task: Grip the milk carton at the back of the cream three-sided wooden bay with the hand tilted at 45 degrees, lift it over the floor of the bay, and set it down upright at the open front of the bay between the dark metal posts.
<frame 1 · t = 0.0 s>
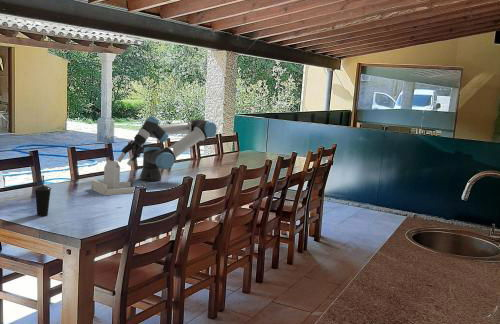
hand: (123, 163, 325), 15 cm above the table, tool tilted 35°, fingers open, 13 cm apart
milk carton: (111, 191, 311), on the table
bay: (118, 190, 314), on the table
drinking cup: (42, 215, 247), on the table
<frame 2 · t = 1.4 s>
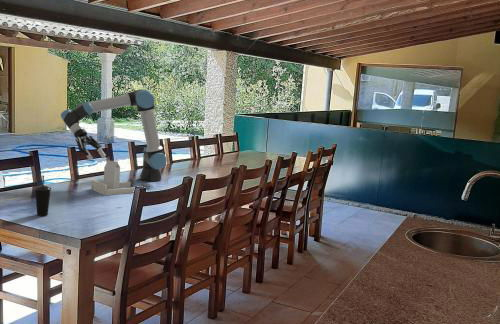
hand: (98, 158, 311), 19 cm above the table, tool tilted 45°, fingers open, 13 cm apart
nothing on the table moved.
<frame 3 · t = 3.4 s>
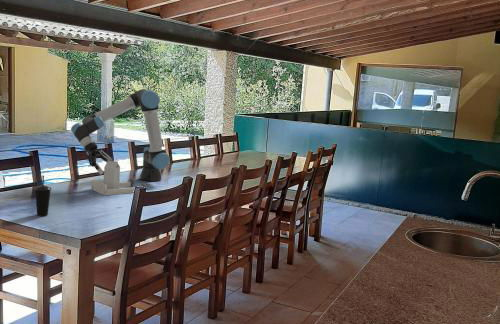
hand: (108, 171, 309), 12 cm above the table, tool tilted 45°, fingers open, 13 cm apart
nothing on the table moved.
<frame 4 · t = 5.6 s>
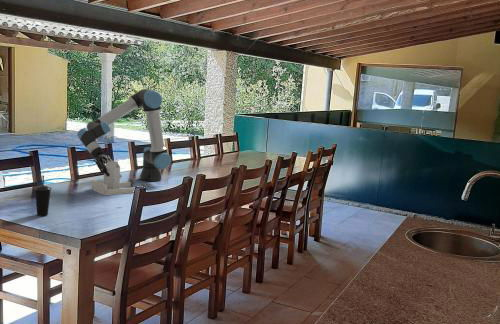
hand: (116, 178, 309), 8 cm above the table, tool tilted 45°, fingers closed on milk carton, 8 cm apart
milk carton: (111, 191, 311), on the table, touching gripper
everything else where it was.
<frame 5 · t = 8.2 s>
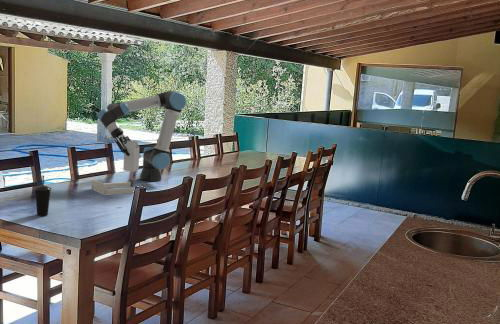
hand: (136, 158, 316), 20 cm above the table, tool tilted 45°, fingers closed on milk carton, 8 cm apart
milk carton: (130, 170, 318), point 12 cm above the table, touching gripper
everything else where it was.
when the fingers open (10 cm above the table, at t = 11.0 s): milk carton drops 1 cm, on the table.
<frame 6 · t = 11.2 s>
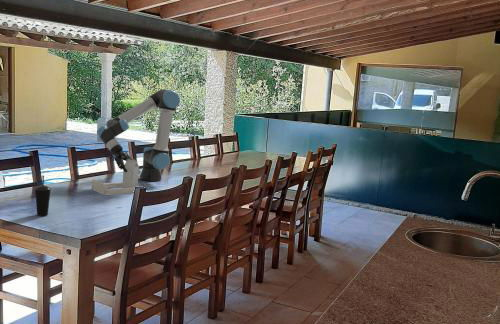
hand: (134, 174, 317), 10 cm above the table, tool tilted 45°, fingers open, 10 cm apart
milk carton: (129, 189, 319), on the table
everything else where it was.
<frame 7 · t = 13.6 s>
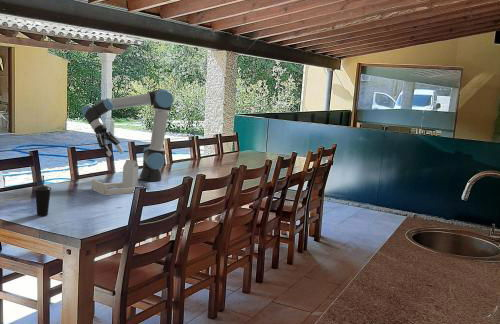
hand: (116, 154, 321), 21 cm above the table, tool tilted 40°, fingers open, 13 cm apart
nothing on the table moved.
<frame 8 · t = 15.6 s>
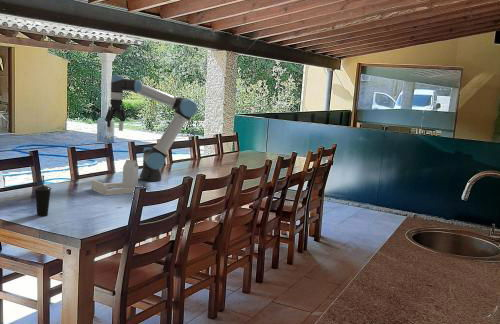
hand: (115, 131, 330), 35 cm above the table, tool pointing down, fingers open, 13 cm apart
nothing on the table moved.
at the end: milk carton inside the target area (0.2 cm from its centre), on the table; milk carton tilted 0°; the gripper is holding nothing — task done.
